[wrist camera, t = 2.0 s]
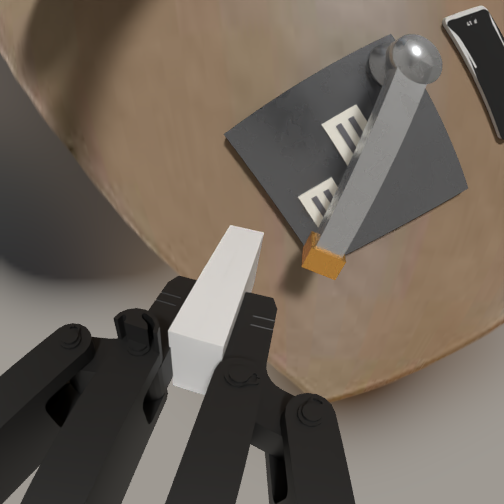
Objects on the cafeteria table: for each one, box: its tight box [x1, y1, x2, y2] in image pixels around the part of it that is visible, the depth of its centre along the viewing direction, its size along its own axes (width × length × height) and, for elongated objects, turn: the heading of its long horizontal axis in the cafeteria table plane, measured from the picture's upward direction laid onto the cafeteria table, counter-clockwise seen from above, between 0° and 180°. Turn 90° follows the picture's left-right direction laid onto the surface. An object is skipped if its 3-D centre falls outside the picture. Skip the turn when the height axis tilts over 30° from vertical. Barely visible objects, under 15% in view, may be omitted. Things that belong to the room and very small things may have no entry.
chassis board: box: [224, 34, 468, 255], centre depth 25 cm, size 18×20×6 cm
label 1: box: [298, 177, 338, 227], centre depth 29 cm, size 6×4×1 cm, turn 36°
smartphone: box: [442, 6, 504, 140], centre depth 18 cm, size 8×1×15 cm
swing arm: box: [302, 34, 442, 280], centre depth 20 cm, size 22×4×3 cm, turn 161°
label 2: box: [321, 105, 367, 166], centre depth 25 cm, size 6×4×1 cm, turn 36°
